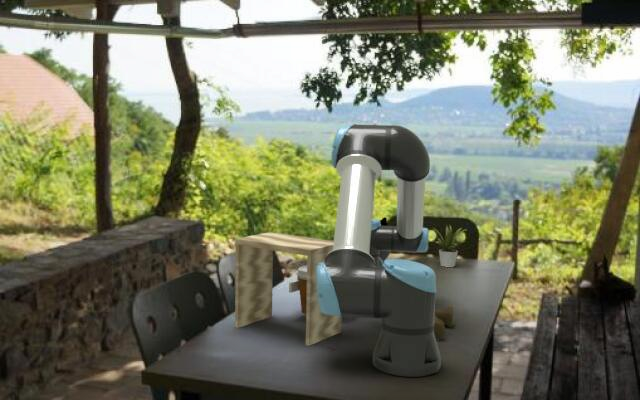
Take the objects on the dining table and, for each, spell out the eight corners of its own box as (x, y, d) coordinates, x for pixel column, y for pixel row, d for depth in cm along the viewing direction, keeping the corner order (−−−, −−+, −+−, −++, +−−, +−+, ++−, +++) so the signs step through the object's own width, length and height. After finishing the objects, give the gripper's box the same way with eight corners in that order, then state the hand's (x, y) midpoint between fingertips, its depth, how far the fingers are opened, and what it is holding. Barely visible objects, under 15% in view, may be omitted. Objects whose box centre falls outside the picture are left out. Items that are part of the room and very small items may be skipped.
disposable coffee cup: (300, 317, 184) (301, 273, 182) (292, 308, 193) (292, 266, 191) (334, 315, 186) (335, 272, 185) (325, 306, 195) (325, 264, 194)
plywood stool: (269, 315, 192) (270, 232, 190) (341, 332, 179) (343, 242, 176) (235, 327, 181) (235, 238, 178) (309, 345, 167) (310, 250, 165)
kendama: (415, 341, 174) (417, 317, 194) (454, 345, 173) (452, 320, 192) (416, 318, 173) (418, 296, 193) (455, 322, 172) (453, 299, 191)
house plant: (477, 269, 258) (479, 226, 256) (445, 272, 253) (447, 228, 251) (456, 262, 271) (457, 221, 270) (425, 264, 266) (426, 222, 264)
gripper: (380, 293, 198) (335, 310, 179) (319, 282, 210) (272, 297, 191) (380, 267, 197) (336, 282, 178) (320, 258, 209) (272, 270, 190)
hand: (303, 290), depth 185 cm, fingers closed on disposable coffee cup, 8 cm apart
